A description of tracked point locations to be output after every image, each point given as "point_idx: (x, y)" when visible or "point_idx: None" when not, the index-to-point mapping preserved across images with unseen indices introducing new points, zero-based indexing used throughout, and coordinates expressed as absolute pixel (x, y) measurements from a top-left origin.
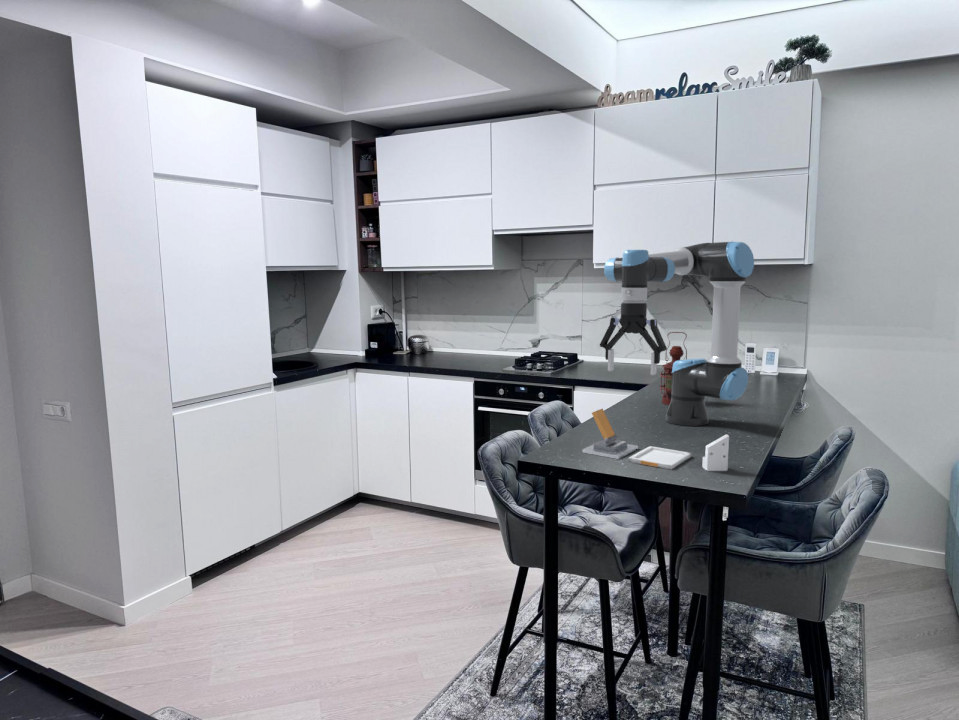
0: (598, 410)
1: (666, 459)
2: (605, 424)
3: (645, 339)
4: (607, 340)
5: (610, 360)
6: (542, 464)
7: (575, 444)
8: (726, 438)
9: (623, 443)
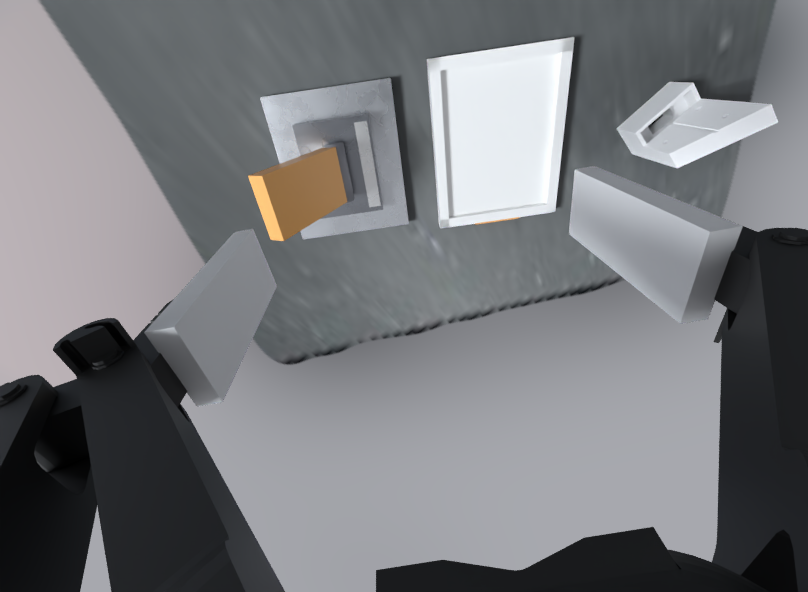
0: (276, 214)
1: (518, 147)
2: (315, 191)
3: (730, 464)
4: (22, 458)
5: (254, 329)
6: (316, 356)
7: (225, 180)
8: (759, 127)
9: (372, 145)
